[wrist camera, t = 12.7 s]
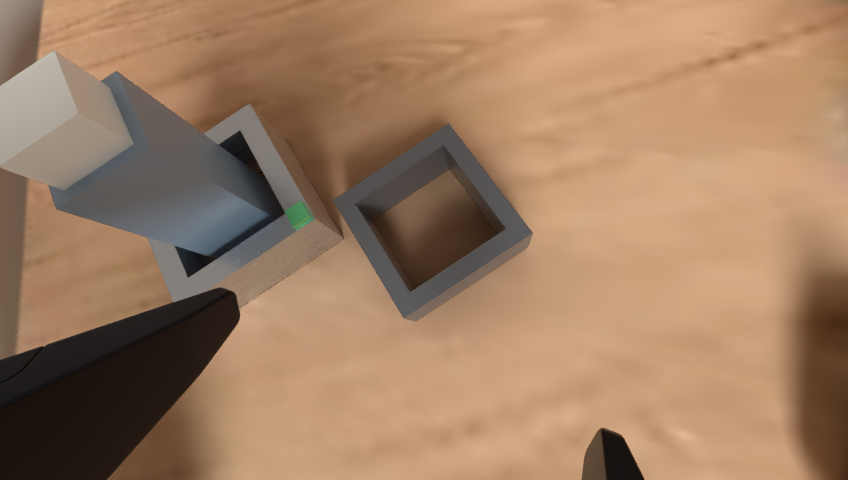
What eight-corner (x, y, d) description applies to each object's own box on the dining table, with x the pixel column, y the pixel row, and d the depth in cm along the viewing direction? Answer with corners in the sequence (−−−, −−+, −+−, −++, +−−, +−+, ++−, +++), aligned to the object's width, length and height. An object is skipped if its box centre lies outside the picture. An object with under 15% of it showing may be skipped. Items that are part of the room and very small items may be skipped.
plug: (242, 266, 25) (-13, 188, 12) (218, 216, 26) (-37, 98, 13) (296, 230, 25) (96, 115, 12) (269, 182, 26) (62, 31, 13)
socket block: (227, 316, 24) (170, 310, 20) (179, 208, 26) (119, 182, 22) (343, 238, 24) (312, 216, 20) (284, 138, 26) (245, 99, 22)
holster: (415, 321, 22) (403, 318, 19) (352, 216, 24) (332, 199, 21) (527, 247, 22) (532, 233, 19) (453, 149, 24) (448, 123, 21)
